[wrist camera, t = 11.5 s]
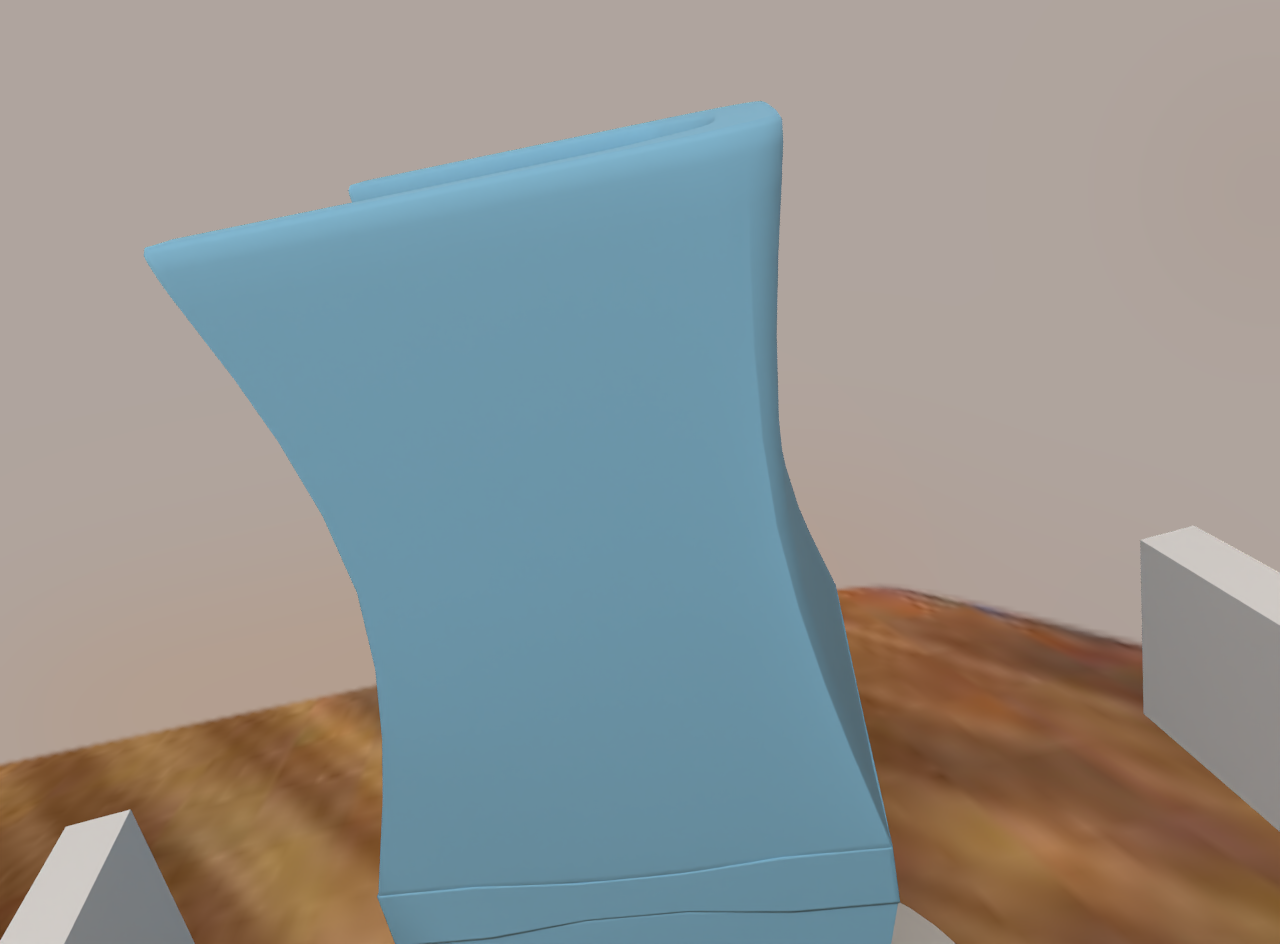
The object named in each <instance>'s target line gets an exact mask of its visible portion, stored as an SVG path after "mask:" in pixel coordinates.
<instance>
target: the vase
mask: <svg viewBox="0 0 1280 944" xmlns="http://www.w3.org/2000/svg"><path fill="white" fill-rule="evenodd" d="M782 157H783V130H782V118H781V117H780V115H779V114H778V112H777V111H776V110H775V109H774V108H773V107H772V106H770V105H768V104H767V103H765V102H762V101H758V102H749V103H743V104H737V105H732V106H726V107H721V108H716V109H710V110H705V111H700V112H695V113H690V114H685V115H681V116H675V117H670V118H666V119H661V120H656V121H651V122H646V123H642V124H637V125H632V126H627V127H622V128H618V129H612V130H608V131H603V132H598V133H593V134H588V135H584V136H579V137H574V138H569V139H564V140H560V141H554V142H550V143H545V144H540V145H535V146H530V147H526V148H521V149H516V150H511V151H506V152H502V153H497V154H492V155H487V156H483V157H478V158H473V159H468V160H463V161H458V162H454V163H449V164H444V165H439V166H434V167H429V168H425V169H420V170H415V171H410V172H405V173H401V174H396V175H391V176H386V177H381V178H377V179H372V180H367V181H363V182H360V183H357V184H353V185H351V186H350V188H349V194H350V197H351V200H352V203H348V204H343V205H338V206H334V207H328V208H324V209H319V210H314V211H309V212H304V213H299V214H294V215H289V216H285V217H280V218H275V219H270V220H265V221H260V222H256V223H251V224H246V225H241V226H236V227H231V228H226V229H222V230H216V231H212V232H206V233H202V234H197V235H192V236H187V237H182V238H177V239H172V240H169V241H167V242H163V243H160V244H156V245H153V246H150V247H146V248H145V250H144V257H145V259H146V261H147V263H148V265H149V266H150V267H151V269H152V271H153V272H154V274H155V275H156V277H157V279H158V280H159V282H160V283H161V284H162V286H163V287H164V288H165V290H166V291H167V293H168V294H169V295H170V297H171V298H172V299H173V301H174V302H175V303H176V305H177V306H178V307H179V308H180V310H181V311H182V312H183V314H184V315H185V316H186V317H187V319H188V320H189V321H190V323H191V324H192V325H193V327H194V328H195V329H196V330H197V332H198V333H199V334H200V336H201V337H202V338H203V340H204V341H205V342H206V343H207V345H208V346H209V347H210V349H211V350H212V351H213V352H214V354H215V355H216V356H217V358H218V359H219V360H220V361H221V363H222V364H223V365H224V367H225V368H226V369H227V370H228V372H229V373H230V374H231V376H232V377H233V378H234V380H235V381H236V382H237V384H238V385H239V387H240V388H241V389H242V391H243V392H244V394H245V395H246V397H247V398H248V399H249V401H250V402H251V404H252V405H253V407H254V408H255V409H256V410H257V412H258V414H259V415H260V417H261V418H262V419H263V421H264V422H265V424H266V425H267V427H268V428H269V429H270V431H271V432H272V434H273V435H274V436H275V438H276V439H277V441H278V442H279V444H280V445H281V447H282V449H283V451H284V452H285V454H286V456H287V457H288V459H289V461H290V462H291V464H292V466H293V467H294V469H295V470H296V472H297V474H298V476H299V477H300V479H301V480H302V482H303V484H304V486H305V487H306V489H307V491H308V492H309V494H310V496H311V497H312V499H313V501H314V502H315V504H316V506H317V507H318V509H319V511H320V512H321V514H322V516H323V518H324V520H325V522H326V524H327V527H328V529H329V531H330V533H331V536H332V538H333V540H334V542H335V544H336V547H337V549H338V551H339V554H340V556H341V558H342V560H343V562H344V565H345V567H346V569H347V571H348V574H349V576H350V578H351V580H352V583H353V585H354V587H355V589H356V591H357V594H358V598H359V603H360V607H361V611H362V615H363V619H364V623H365V628H366V632H367V636H368V640H369V645H370V649H371V653H372V657H373V661H374V666H375V671H376V680H377V691H378V701H379V712H380V722H381V732H382V766H383V807H382V828H381V849H380V872H379V893H378V896H377V897H378V900H379V903H380V905H381V908H382V911H383V913H384V916H385V918H386V921H387V924H388V926H389V929H390V932H391V934H392V937H393V939H394V942H395V944H891V942H892V936H893V930H894V925H895V919H896V913H897V907H898V903H900V898H899V891H898V883H897V876H896V868H895V861H894V853H893V846H892V842H891V837H890V832H889V828H888V823H887V819H886V814H885V809H884V805H883V800H882V796H881V791H880V786H879V782H878V777H877V773H876V768H875V764H874V760H873V755H872V751H871V746H870V742H869V738H868V733H867V729H866V724H865V720H864V715H863V711H862V706H861V702H860V697H859V692H858V688H857V683H856V678H855V674H854V669H853V664H852V660H851V655H850V650H849V645H848V641H847V636H846V631H845V626H844V621H843V617H842V612H841V608H840V603H839V598H838V594H837V589H836V585H835V583H834V581H833V579H832V577H831V575H830V573H829V571H828V569H827V567H826V565H825V563H824V561H823V559H822V557H821V555H820V553H819V551H818V549H817V547H816V545H815V543H814V541H813V538H812V537H811V535H810V532H809V530H808V528H807V525H806V523H805V521H804V519H803V516H802V514H801V512H800V510H799V507H798V504H797V501H796V498H795V495H794V492H793V488H792V485H791V482H790V479H789V476H788V473H787V469H786V466H785V462H784V458H783V452H782V446H781V437H780V426H779V413H778V412H779V411H778V376H777V375H778V372H777V338H776V337H777V335H776V333H777V287H778V247H779V225H780V205H781V204H780V203H781V184H782Z"/></svg>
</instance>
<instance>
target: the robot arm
mask: <svg viewBox="0 0 1280 944" xmlns="http://www.w3.org/2000/svg"><path fill="white" fill-rule="evenodd" d="M1140 542H1141V543H1140V544H1141V596H1142V650H1143V702H1144V714H1145V715H1146V716H1147V717H1148V718H1149V719H1150V720H1152V721H1153V722H1154V723H1155V724H1156V725H1157V726H1159V727H1160V728H1161V729H1162V730H1163V731H1164V732H1165V733H1167V734H1168V735H1169V736H1170V737H1171V738H1172V739H1174V740H1175V741H1176V742H1177V743H1178V744H1179V745H1180V746H1182V747H1183V748H1184V749H1185V750H1186V751H1187V752H1189V753H1190V754H1191V755H1192V756H1193V757H1194V758H1195V759H1197V760H1198V761H1199V762H1200V763H1201V764H1202V765H1204V766H1205V767H1206V768H1207V769H1208V770H1209V771H1210V772H1212V773H1213V774H1214V775H1215V776H1216V777H1217V778H1219V779H1220V780H1221V781H1222V782H1223V783H1224V784H1225V785H1227V786H1228V787H1229V788H1230V789H1231V790H1232V791H1234V792H1235V793H1236V794H1237V795H1238V796H1239V797H1240V798H1242V799H1243V800H1244V801H1245V802H1246V803H1247V804H1248V805H1250V806H1251V807H1252V808H1253V809H1254V810H1255V811H1257V812H1258V813H1259V814H1260V815H1261V816H1262V817H1263V818H1265V819H1266V820H1267V821H1268V822H1269V823H1270V824H1272V825H1273V826H1274V827H1275V828H1276V829H1277V830H1278V831H1280V573H1279V572H1278V571H1276V570H1274V569H1272V568H1270V567H1269V566H1267V565H1265V564H1263V563H1261V562H1259V561H1257V560H1256V559H1254V558H1252V557H1250V556H1248V555H1247V554H1245V553H1243V552H1241V551H1239V550H1237V549H1236V548H1234V547H1232V546H1230V545H1228V544H1226V543H1225V542H1223V541H1221V540H1219V539H1217V538H1216V537H1213V536H1212V535H1210V534H1208V533H1207V532H1205V531H1203V530H1201V529H1199V528H1197V527H1196V526H1191V527H1187V528H1183V529H1180V530H1176V531H1172V532H1169V533H1165V534H1161V535H1157V536H1153V537H1150V538H1146V539H1142V540H1140ZM0 944H195V943H194V941H193V939H192V937H191V935H190V932H189V930H188V928H187V926H186V924H185V922H184V920H183V918H182V916H181V914H180V912H179V910H178V907H177V905H176V903H175V901H174V899H173V897H172V895H171V893H170V891H169V889H168V887H167V884H166V882H165V880H164V878H163V876H162V874H161V872H160V870H159V868H158V866H157V864H156V861H155V859H154V857H153V855H152V853H151V851H150V849H149V847H148V845H147V843H146V841H145V838H144V836H143V834H142V832H141V830H140V828H139V826H138V824H137V822H136V820H135V818H134V815H133V813H132V811H131V809H130V810H127V811H123V812H119V813H115V814H112V815H108V816H104V817H100V818H97V819H93V820H89V821H85V822H82V823H78V824H74V825H70V826H67V827H65V829H64V831H63V832H62V834H61V836H60V838H59V839H58V841H57V843H56V845H55V846H54V848H53V850H52V852H51V853H50V855H49V857H48V859H47V860H46V862H45V864H44V866H43V867H42V869H41V871H40V872H39V874H38V876H37V878H36V879H35V881H34V883H33V885H32V886H31V888H30V890H29V892H28V893H27V895H26V897H25V899H24V900H23V902H22V904H21V905H20V907H19V909H18V911H17V912H16V914H15V916H14V918H13V919H12V921H11V923H10V925H9V926H8V928H7V930H6V932H5V933H4V935H3V937H2V938H1V940H0Z"/></svg>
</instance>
